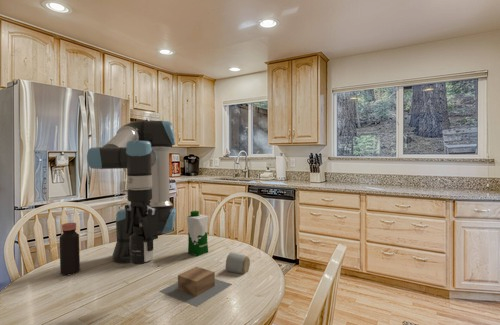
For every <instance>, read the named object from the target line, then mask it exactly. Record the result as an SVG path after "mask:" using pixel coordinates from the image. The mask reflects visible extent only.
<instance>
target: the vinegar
mask: <svg viewBox="0 0 500 325" xmlns="http://www.w3.org/2000/svg"><path fill="white" fill-rule="evenodd" d="M61 231H62V234H61V235H60V236H59V265H60V266H59V267H60V271H59V272H60V275H61V274H63V275H62V276H69V275H68V274H72V275H74V274H73V273H75V274H77V273H79V272H80V270H81V261H80V260H81V259H80V254H81V253H80V235H79V233H78V232H77V222H66V223H63V224H61ZM78 271H79V272H78ZM76 272H77V273H76Z"/></svg>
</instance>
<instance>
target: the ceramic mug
mask: <svg viewBox="0 0 500 325" xmlns="http://www.w3.org/2000/svg"><path fill="white" fill-rule="evenodd" d="M250 265H251V260H250V257H248V256H246V255H244V254H240V253H236V252H230V253H229V254H228V255H227V257H226V259H225V271H226V272H230V273H236V274H243V275H244V274H247V273H248V272H249V270H250Z"/></svg>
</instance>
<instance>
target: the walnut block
mask: <svg viewBox="0 0 500 325" xmlns="http://www.w3.org/2000/svg"><path fill="white" fill-rule="evenodd" d="M215 274H216V272H215V271H212V270H209V269H206V268H205V269H204V268H201V267H198V266H195V267H193V268H191V269H188V270H186V271H184V272H182V273H180V274H178V275H177V282H178V290H181V291H183V292H186V293H189V294H191V295H194V296H198V295H200V294H202V293H204V292H205V291H207V290H209V289H210V288H212V287H214V286H215V279H216V278H215Z"/></svg>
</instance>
